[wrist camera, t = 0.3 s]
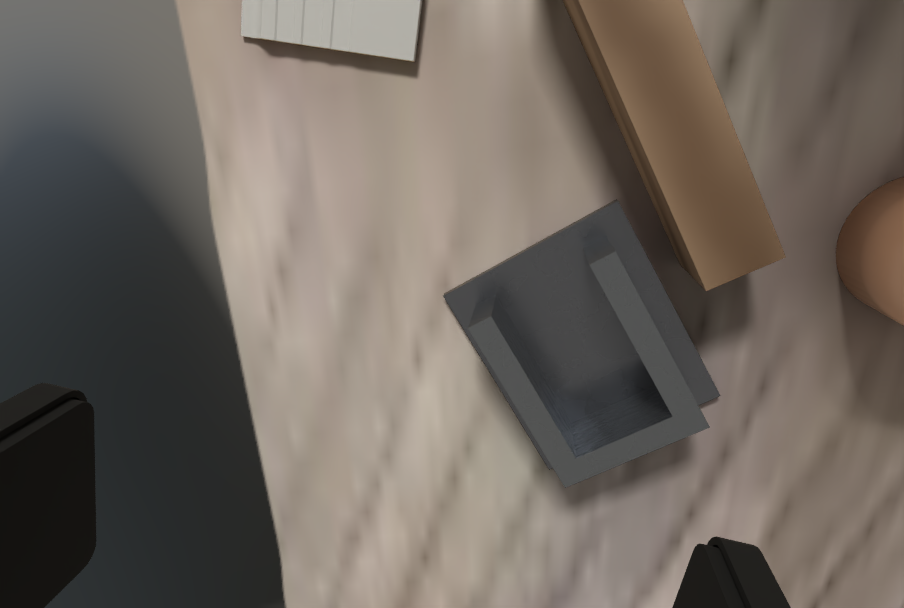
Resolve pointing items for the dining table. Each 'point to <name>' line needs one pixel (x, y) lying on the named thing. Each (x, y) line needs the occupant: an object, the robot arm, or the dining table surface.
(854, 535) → the dining table surface
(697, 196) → the rail
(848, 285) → the brown round cylinder
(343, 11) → the baseboard molding
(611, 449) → the bracket
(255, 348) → the dining table surface
